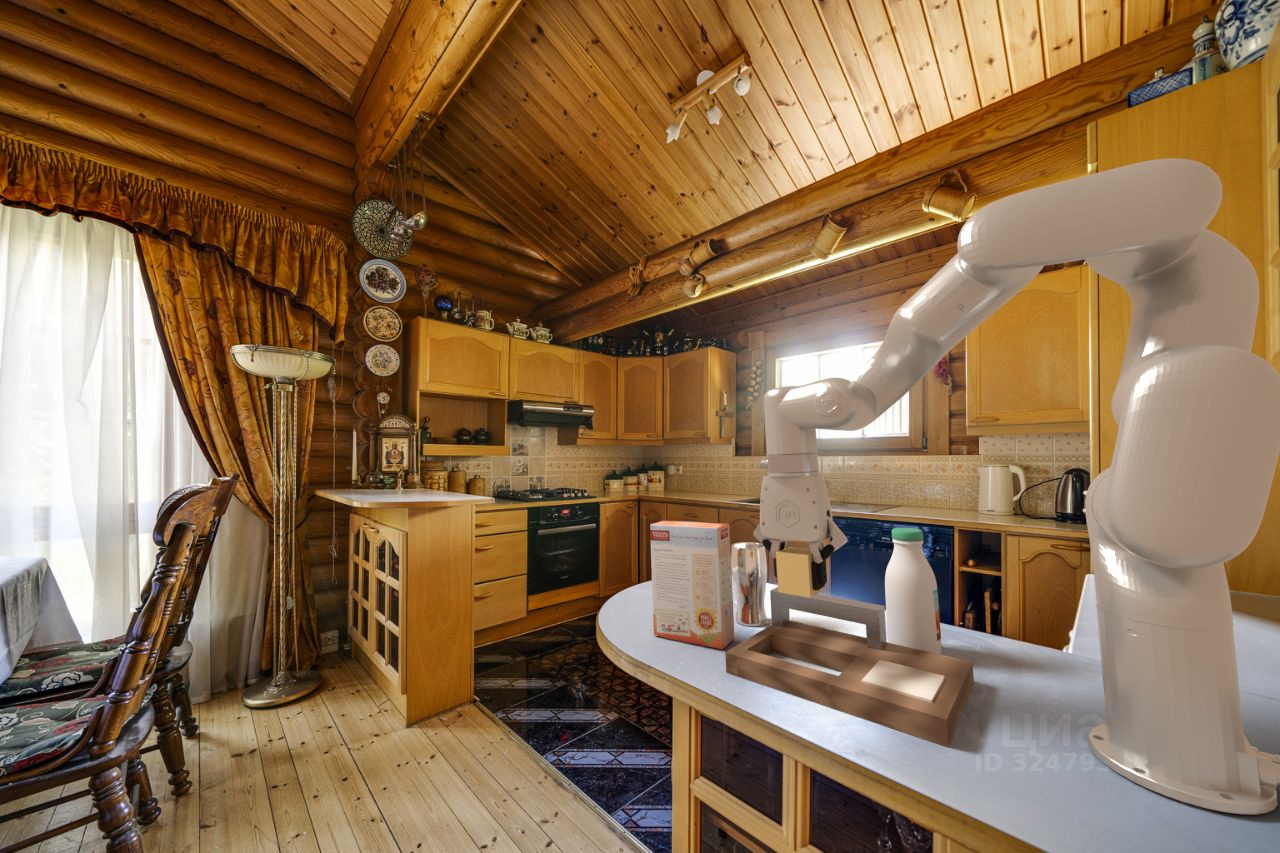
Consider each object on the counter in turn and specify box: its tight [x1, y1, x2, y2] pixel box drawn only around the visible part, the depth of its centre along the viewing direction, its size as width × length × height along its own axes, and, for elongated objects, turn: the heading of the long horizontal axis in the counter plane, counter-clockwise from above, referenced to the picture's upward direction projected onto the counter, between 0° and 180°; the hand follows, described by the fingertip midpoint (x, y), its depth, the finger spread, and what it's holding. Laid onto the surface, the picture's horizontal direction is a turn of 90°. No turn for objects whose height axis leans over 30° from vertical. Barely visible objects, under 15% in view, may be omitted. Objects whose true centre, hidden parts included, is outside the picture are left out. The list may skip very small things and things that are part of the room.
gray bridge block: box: [769, 586, 888, 650], centre depth 79 cm, size 18×3×6 cm, turn 48°
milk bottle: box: [884, 527, 942, 655], centre depth 79 cm, size 8×8×20 cm
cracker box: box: [649, 520, 735, 650], centre depth 87 cm, size 14×6×21 cm, turn 58°
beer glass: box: [731, 541, 768, 627], centre depth 94 cm, size 7×7×15 cm
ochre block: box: [776, 546, 825, 598], centre depth 72 cm, size 5×5×6 cm
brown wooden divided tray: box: [725, 620, 975, 748], centre depth 70 cm, size 29×19×3 cm, turn 48°
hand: (800, 584), depth 72 cm, fingers closed on ochre block, 4 cm apart
